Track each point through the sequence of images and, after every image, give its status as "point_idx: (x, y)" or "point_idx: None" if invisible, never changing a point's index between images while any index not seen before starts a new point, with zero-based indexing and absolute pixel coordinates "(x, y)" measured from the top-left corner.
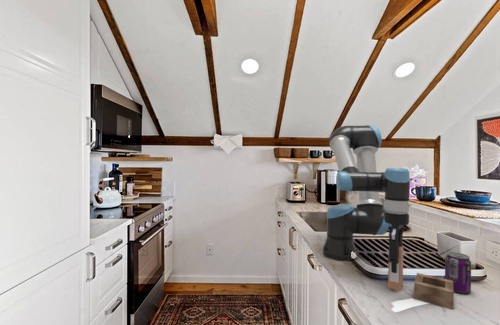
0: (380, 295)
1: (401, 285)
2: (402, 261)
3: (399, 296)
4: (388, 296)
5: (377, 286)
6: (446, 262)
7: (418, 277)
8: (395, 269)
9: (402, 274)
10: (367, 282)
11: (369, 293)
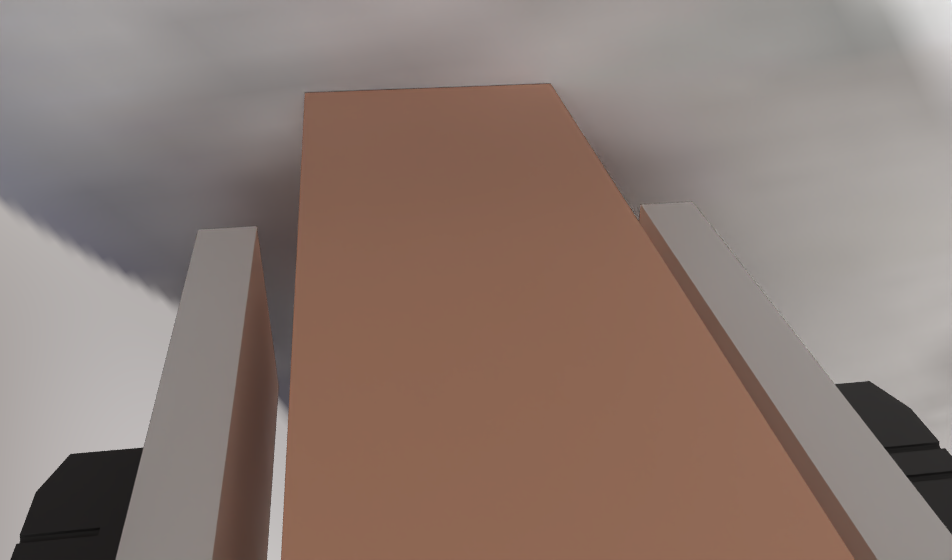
0: (888, 304)
1: (538, 125)
2: (519, 548)
3: (795, 71)
4: (874, 212)
5: None
6: None
7: None
8: (946, 472)
9: (401, 233)
10: None
11: None
